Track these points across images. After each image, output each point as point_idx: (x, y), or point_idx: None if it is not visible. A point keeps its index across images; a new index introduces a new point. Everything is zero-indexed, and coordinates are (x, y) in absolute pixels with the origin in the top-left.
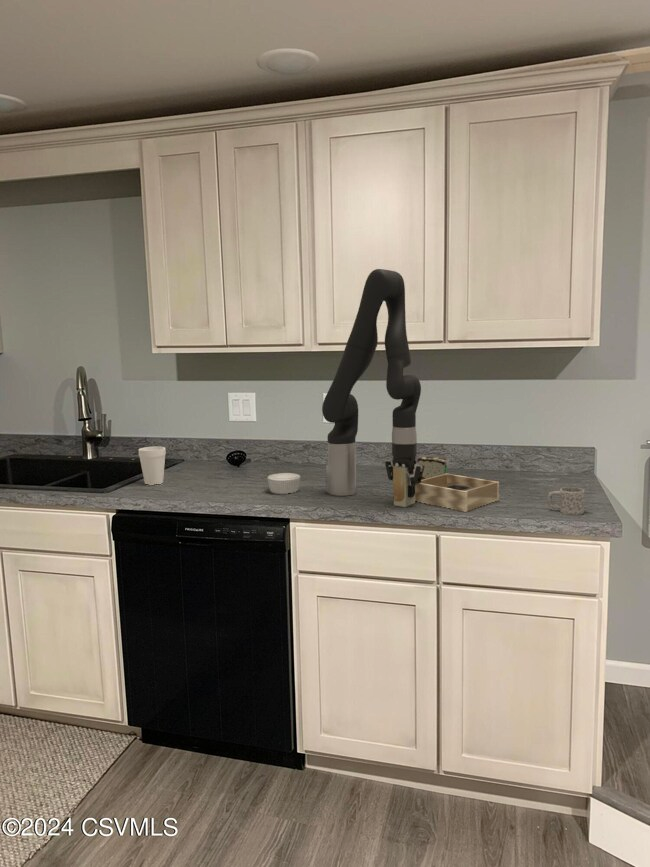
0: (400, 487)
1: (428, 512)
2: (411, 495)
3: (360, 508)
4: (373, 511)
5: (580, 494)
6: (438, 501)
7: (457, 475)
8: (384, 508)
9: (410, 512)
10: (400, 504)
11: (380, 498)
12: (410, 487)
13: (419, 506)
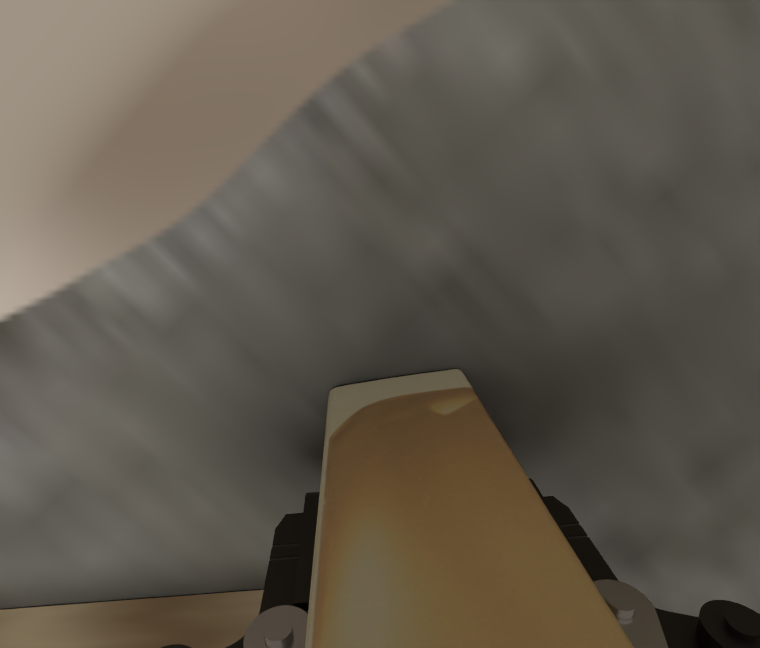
0: (395, 499)
1: (34, 407)
2: (287, 517)
3: (664, 23)
4: (465, 27)
5: None
6: (123, 640)
7: None
8: (455, 218)
9: (149, 287)
10: (380, 386)
11: (712, 461)
12: (292, 597)
13: (259, 498)
